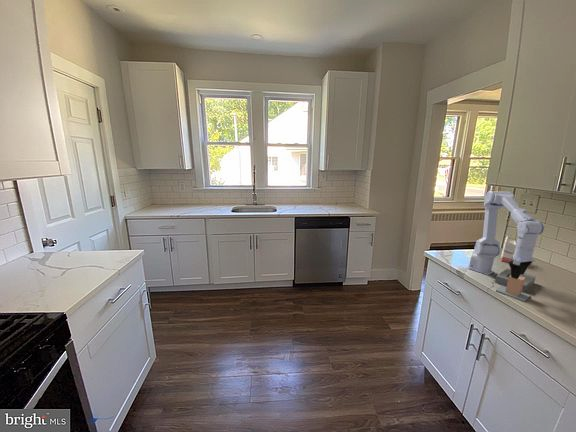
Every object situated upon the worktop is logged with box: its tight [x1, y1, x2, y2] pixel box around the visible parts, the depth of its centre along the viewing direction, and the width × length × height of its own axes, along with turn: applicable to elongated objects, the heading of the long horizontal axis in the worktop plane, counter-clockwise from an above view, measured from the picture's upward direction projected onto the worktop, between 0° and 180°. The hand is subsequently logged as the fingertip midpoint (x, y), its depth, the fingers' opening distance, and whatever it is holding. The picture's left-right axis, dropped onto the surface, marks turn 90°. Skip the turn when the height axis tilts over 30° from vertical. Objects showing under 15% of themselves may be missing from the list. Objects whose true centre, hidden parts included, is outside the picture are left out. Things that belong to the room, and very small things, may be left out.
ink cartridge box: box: [500, 235, 517, 264], centre depth 146 cm, size 9×5×15 cm, turn 141°
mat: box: [495, 285, 531, 302], centre depth 111 cm, size 10×8×1 cm
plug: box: [505, 275, 525, 296], centre depth 110 cm, size 4×4×8 cm
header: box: [494, 268, 536, 293], centre depth 121 cm, size 11×16×4 cm
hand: (517, 275), depth 109 cm, fingers open, 7 cm apart
